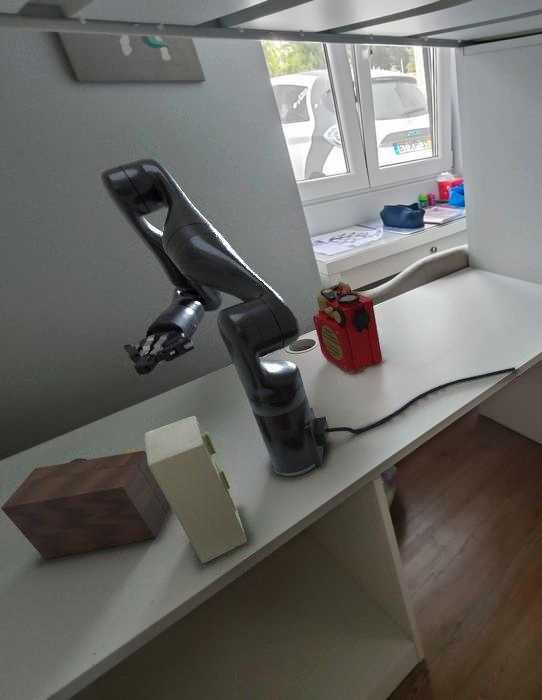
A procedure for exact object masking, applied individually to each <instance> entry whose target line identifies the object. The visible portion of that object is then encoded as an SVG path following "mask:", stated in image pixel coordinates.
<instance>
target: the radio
mask: <svg viewBox="0 0 542 700" xmlns="http://www.w3.org/2000/svg"><path fill="white" fill-rule="evenodd" d="M316 302H317V307H318V313H317V314H314V315H313V317H312V319H313V320H312V321H313V324H314V327H315V332H316V335H317V336H316V337H317V340H318V344H319V348H320V350H321V353H322V355H323V358H325V359H327V360H328V361H330V362H331V363H332V364H334V365H335V366H336V367H338V368H340V369H341V370H343V371H344V372H349V371H351V370H352V371H353V372H358V371H360V370H361V371H362V369H364V368H365V369H366V368H367V367H370V366H371V365H377V364H379V363H382V362H383V355H382V350H381V343H380V338H379V332H378V327H377V320H376V315H375V313H376V312H375V308H374V302H373V299H371V298H369V297H367V296H364V295H362V293H361V294H360V293H359V292H356V291H355V290H352V288H351V286H350V285H349V284H348V283H347V282H343V281H341V280H340V281H338V282H337V284H334V285H332V286H329V287H328V288H322V290H320V291H319V293H318V295H317V296H316Z"/></svg>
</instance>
